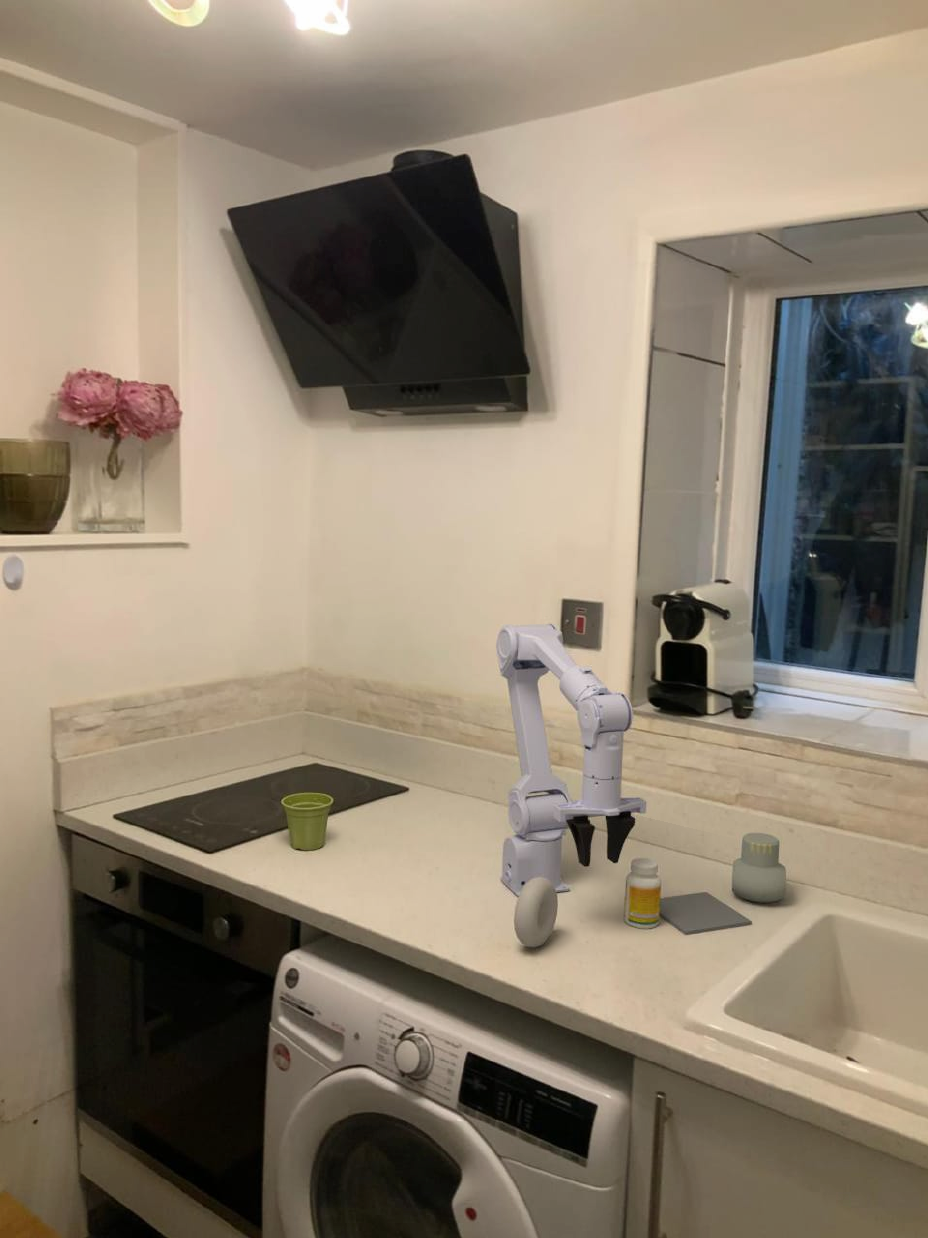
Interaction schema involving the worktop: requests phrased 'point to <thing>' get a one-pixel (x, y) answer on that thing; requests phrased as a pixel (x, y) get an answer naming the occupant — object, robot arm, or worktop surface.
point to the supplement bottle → (642, 894)
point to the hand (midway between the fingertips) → (598, 862)
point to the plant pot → (307, 819)
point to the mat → (699, 913)
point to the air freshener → (759, 869)
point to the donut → (535, 912)
